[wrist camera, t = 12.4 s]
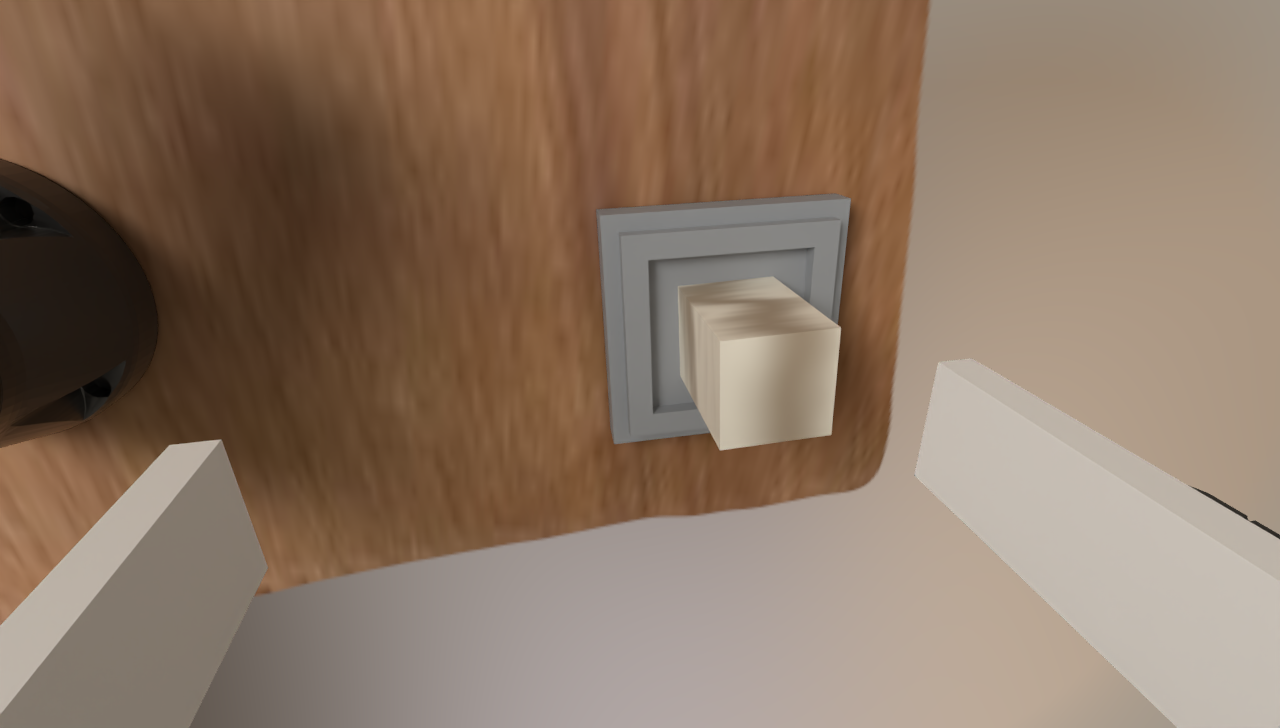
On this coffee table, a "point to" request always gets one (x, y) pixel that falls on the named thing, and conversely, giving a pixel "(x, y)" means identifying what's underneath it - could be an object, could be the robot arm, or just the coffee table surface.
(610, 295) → the slate plinth
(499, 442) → the coffee table surface
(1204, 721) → the robot arm
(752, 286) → the birch block
